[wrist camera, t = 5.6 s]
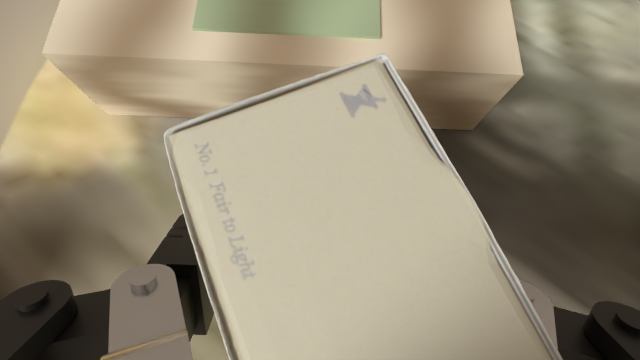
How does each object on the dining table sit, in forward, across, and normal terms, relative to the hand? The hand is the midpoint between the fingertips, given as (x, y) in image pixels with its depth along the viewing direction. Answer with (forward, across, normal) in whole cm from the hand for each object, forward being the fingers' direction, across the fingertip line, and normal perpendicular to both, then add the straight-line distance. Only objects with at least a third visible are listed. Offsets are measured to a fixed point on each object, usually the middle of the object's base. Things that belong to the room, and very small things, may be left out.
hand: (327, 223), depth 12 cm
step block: (+13, +2, -5) cm, 14 cm away
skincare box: (+3, 0, +6) cm, 6 cm away
